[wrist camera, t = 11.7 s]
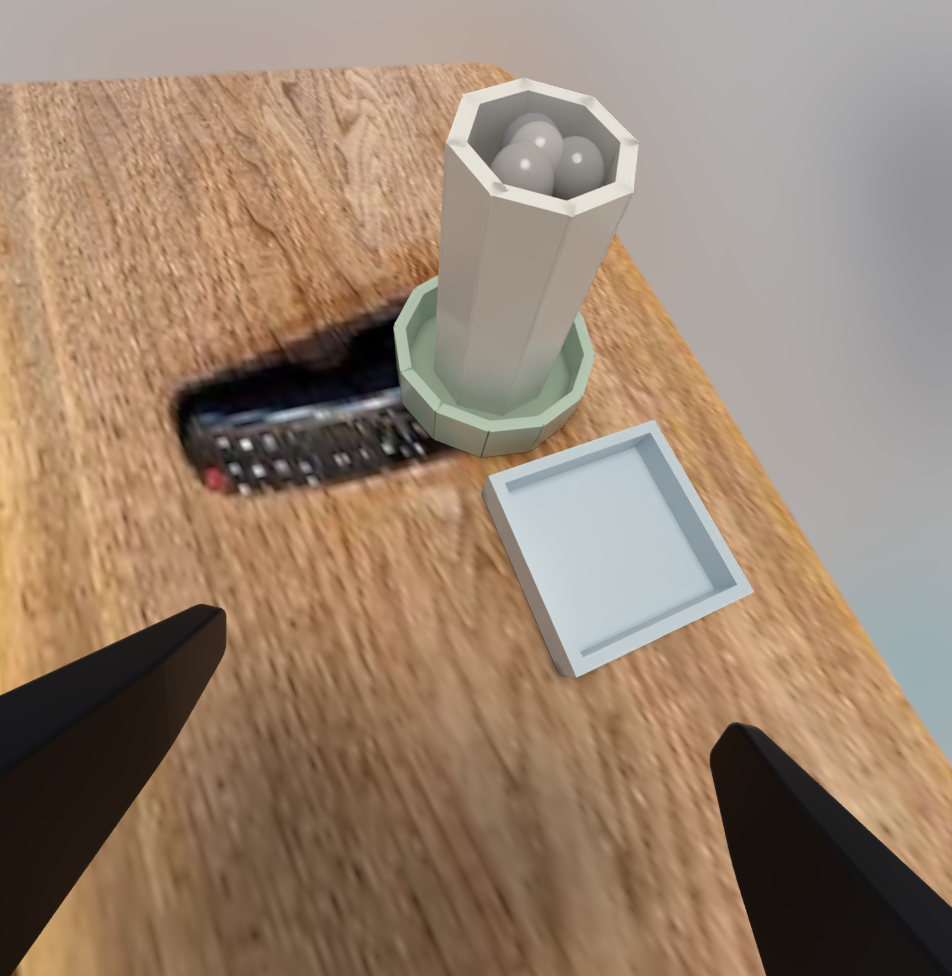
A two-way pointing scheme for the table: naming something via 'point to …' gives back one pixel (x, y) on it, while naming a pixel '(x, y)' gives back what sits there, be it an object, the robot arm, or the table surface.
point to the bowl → (474, 426)
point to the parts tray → (611, 546)
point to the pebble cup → (522, 234)
